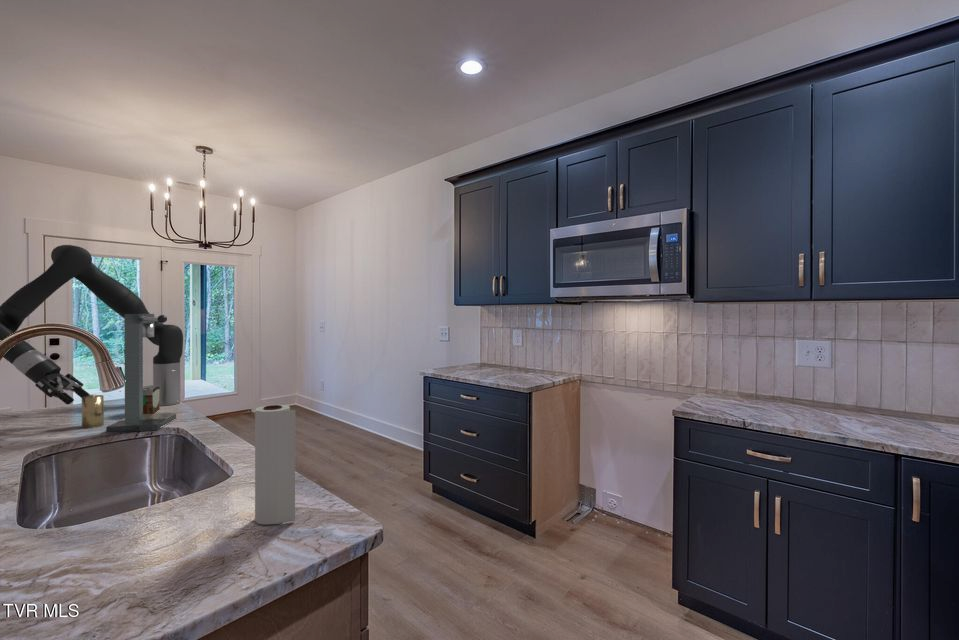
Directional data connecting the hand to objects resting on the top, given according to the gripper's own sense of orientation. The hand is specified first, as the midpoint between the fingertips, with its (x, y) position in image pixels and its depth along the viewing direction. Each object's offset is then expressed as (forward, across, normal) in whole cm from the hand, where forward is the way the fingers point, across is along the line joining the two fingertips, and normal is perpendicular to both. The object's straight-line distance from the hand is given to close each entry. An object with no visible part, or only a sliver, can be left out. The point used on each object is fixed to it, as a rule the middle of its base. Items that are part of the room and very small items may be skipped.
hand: (79, 399), depth 145 cm
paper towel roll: (+60, -86, -46) cm, 114 cm away
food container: (+15, +16, -2) cm, 22 cm away
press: (+21, -4, -8) cm, 23 cm away
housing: (+9, 0, +4) cm, 10 cm away
